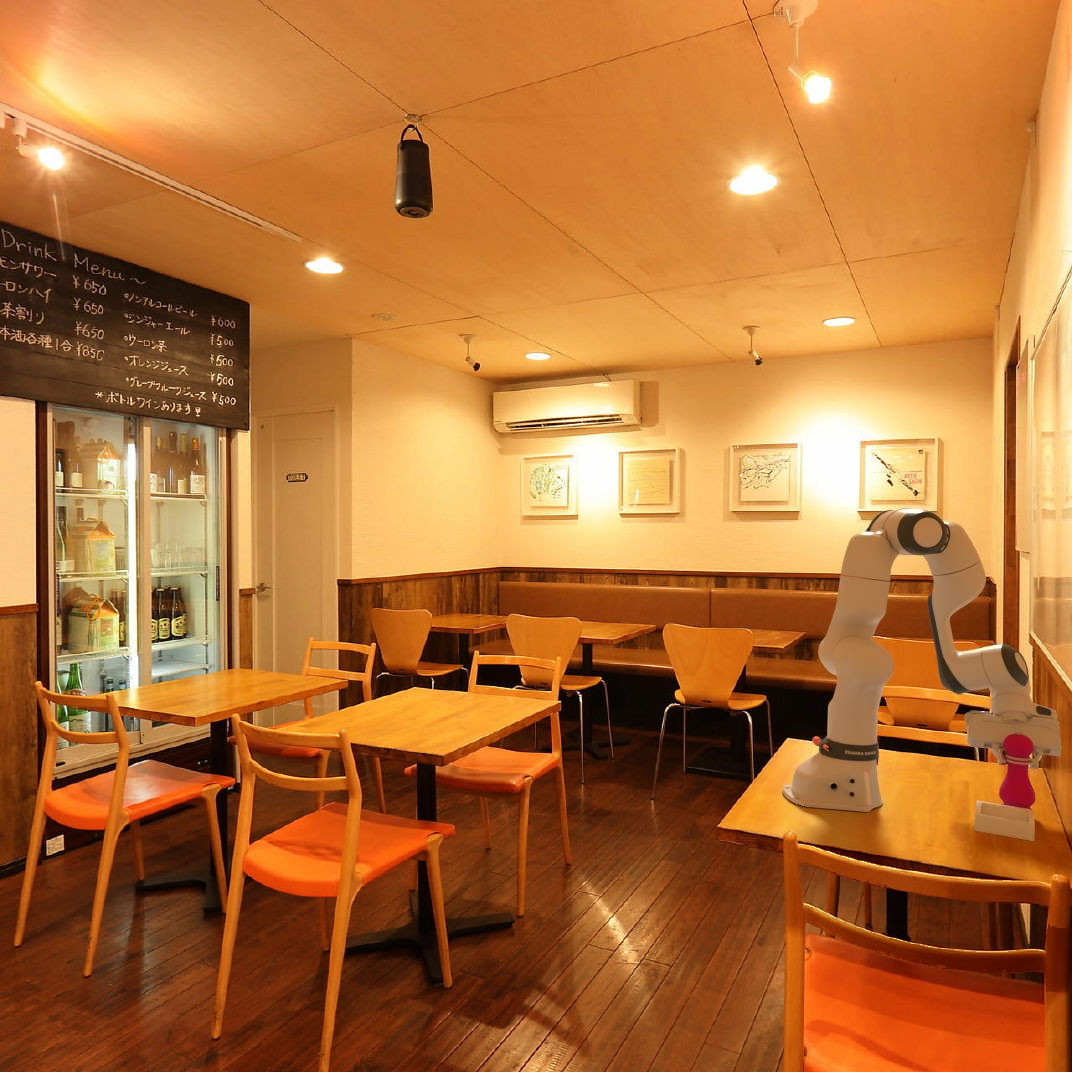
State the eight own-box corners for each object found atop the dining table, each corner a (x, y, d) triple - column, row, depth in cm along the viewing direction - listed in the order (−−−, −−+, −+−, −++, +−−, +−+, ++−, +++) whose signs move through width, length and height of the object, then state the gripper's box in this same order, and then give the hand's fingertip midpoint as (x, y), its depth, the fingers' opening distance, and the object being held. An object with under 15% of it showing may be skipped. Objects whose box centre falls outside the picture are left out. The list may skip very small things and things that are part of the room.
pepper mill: (1040, 821, 182) (1043, 732, 182) (1005, 818, 184) (1007, 730, 184) (1027, 811, 189) (1030, 725, 189) (993, 808, 191) (996, 722, 191)
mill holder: (974, 830, 175) (974, 814, 175) (976, 815, 185) (976, 800, 185) (1034, 841, 170) (1034, 824, 170) (1032, 825, 179) (1033, 809, 179)
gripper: (965, 702, 197) (968, 752, 188) (1064, 711, 189) (1072, 764, 180) (962, 717, 201) (965, 766, 192) (1059, 726, 193) (1067, 779, 184)
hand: (1018, 765), depth 186 cm, fingers closed on pepper mill, 5 cm apart
